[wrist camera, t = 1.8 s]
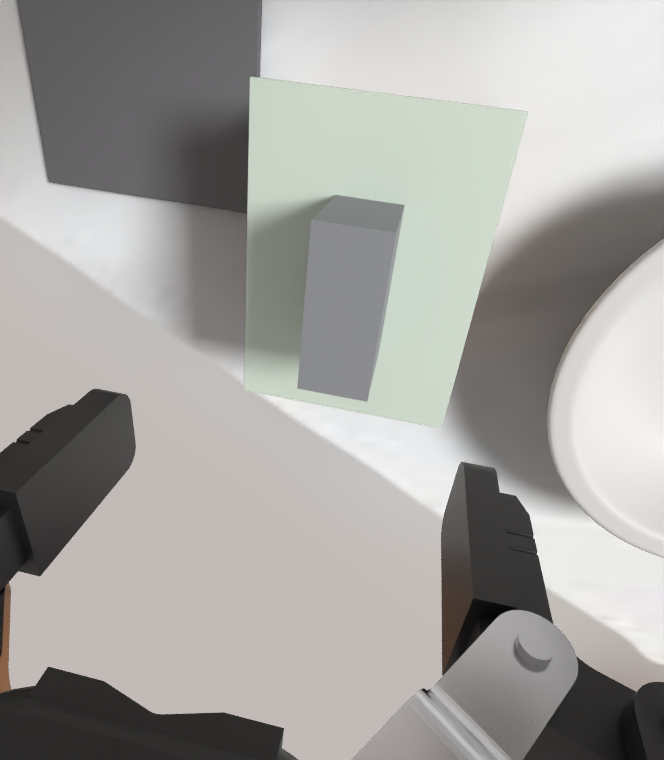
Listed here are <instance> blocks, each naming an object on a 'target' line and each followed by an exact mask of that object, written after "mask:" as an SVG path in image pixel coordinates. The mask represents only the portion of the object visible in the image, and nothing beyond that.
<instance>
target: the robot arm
mask: <svg viewBox="0 0 664 760" xmlns="http://www.w3.org/2000/svg"><path fill="white" fill-rule="evenodd" d="M135 448H136V445H135V435H134V427H133V419H132V411H131V403H130V399H129V397H128V396H127V395H125V394H121V393H116V392H111V391H105V390H101V389H93V390H91V391H90V392H88V393H87V394H86V395H85V396H84V397H82V398H81V399H80V400H79V401H78V402H77V403H75V404H74V405H67V406H65V407H62V408H60V409H58V410H56V411H54V412H51V413H49V414H47V415H46V416H45V417H43V418H42V419H41V420H40V421H39V422H37V423H36V424H35V425H34V426H32V427H31V428H30V431H26V432H25V433H24V434H23V435H21V436H20V437H19V438H18V439H17V442H16V443H14V442H13V443H12V444H10V445H9V446H8V447H7V448H6V449H4V450H3V451H2V452H1V453H0V760H298V759H296V758H295V757H294V756H293V755H291V754H290V753H288V752H286V751H285V750H283V749H282V740H283V731H284V728H281V727H277V726H273V725H269V724H265V723H261V722H258V721H254V720H250V719H246V718H242V717H239V716H235V715H231V714H227V713H197V714H165V715H161V714H155V713H152V712H150V711H148V710H147V709H145V708H144V707H142V706H141V705H139V704H138V703H136V702H135V701H133V700H132V699H130V698H129V697H127V696H126V695H124V694H123V693H121V692H119V691H118V690H116V689H115V688H113V687H112V686H110V685H109V684H107V683H106V682H104V681H101V680H97V679H93V678H89V677H86V676H81V675H78V674H74V673H70V672H66V671H63V670H59V669H55V668H51V667H48V668H47V670H46V671H45V672H44V674H43V675H42V677H41V679H40V680H39V681H38V683H37V684H36V686H31V687H25V688H18V689H13V690H11V686H10V681H9V669H8V662H9V634H10V605H11V604H10V603H11V587H10V585H9V581H10V580H11V579H12V578H13V576H14V575H15V574H16V573H17V572H18V571H20V572H24V573H28V574H33V575H37V576H41V575H42V573H43V572H44V571H45V570H46V568H47V567H48V566H49V565H50V564H51V562H52V561H53V560H54V559H55V558H56V556H57V555H58V554H59V553H60V552H61V550H62V549H63V548H64V546H65V545H66V544H67V543H68V542H69V541H70V539H71V538H72V537H73V536H74V535H75V533H76V532H77V531H78V529H79V528H80V527H81V526H82V525H83V524H84V522H85V521H86V520H87V519H88V518H89V516H90V515H91V514H92V513H93V512H94V510H95V509H96V508H97V507H98V505H99V504H100V503H101V502H102V500H103V499H104V498H105V497H106V496H107V494H108V493H109V492H110V491H111V490H112V488H113V487H114V486H115V485H116V484H117V482H118V481H119V480H120V479H121V477H122V476H123V475H124V474H125V472H126V471H127V470H128V469H129V467H130V465H131V463H132V461H133V458H134V455H135ZM441 562H442V563H441V565H442V567H441V570H442V675H443V676H442V678H441V679H440V680H439V681H438V682H437V683H436V684H435V685H434V686H433V687H432V688H431V689H429V690H427V691H426V690H425V689H421V690H419V691H418V692H416V693H415V694H414V695H413V696H412V697H411V698H410V699H409V700H408V701H407V702H406V703H405V704H404V705H403V706H402V707H401V708H400V709H399V710H398V711H397V712H396V713H395V714H394V715H393V716H392V717H391V718H390V720H389V721H388V722H387V723H386V724H385V725H384V726H383V727H382V728H381V729H380V730H379V731H378V732H377V733H376V734H375V735H374V736H373V737H372V738H371V740H370V741H369V742H368V743H367V744H366V745H365V746H364V747H363V748H362V749H361V750H360V751H359V752H358V753H357V754H356V755H355V756H354V757H353V759H352V760H664V683H663V682H652V683H648V684H645V685H643V686H642V687H641V688H640V689H639V690H638V691H637V692H636V691H634V690H632V689H630V688H628V687H626V686H624V685H622V684H620V683H619V682H617V681H615V680H613V679H611V678H609V677H607V676H605V675H604V674H602V673H600V672H597V671H596V670H594V669H593V668H591V667H589V666H588V665H587V664H585V663H584V662H583V661H581V660H580V659H579V658H578V657H577V656H576V654H575V651H574V649H573V647H572V645H571V643H570V642H569V641H568V639H567V638H566V636H565V635H564V634H563V633H562V632H561V631H560V630H559V629H558V628H557V627H556V626H555V625H554V624H553V621H552V617H551V612H550V608H549V603H548V599H547V595H546V590H545V585H544V580H543V576H542V571H541V567H540V562H539V557H538V555H537V548H536V544H535V539H533V530H532V525H531V521H530V516H529V514H528V513H527V511H526V510H525V508H524V507H523V505H522V504H521V503H520V501H519V500H518V498H517V497H516V496H514V495H509V494H504V493H499V486H498V480H497V474H496V470H495V469H494V468H490V467H485V466H480V465H475V464H470V463H465V462H461V463H460V465H459V467H458V470H457V473H456V477H455V480H454V483H453V486H452V490H451V493H450V496H449V499H448V503H447V506H446V509H445V513H444V518H443V524H442V533H441Z"/></svg>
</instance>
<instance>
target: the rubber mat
mask: <svg viewBox="0 0 664 760" xmlns="http://www.w3.org/2000/svg"><path fill="white" fill-rule="evenodd" d="M17 1H18V6H19V12H20V18H21V24H22V29H23V35H24V41H25V46H26V52H27V58H28V64H29V69H30V75H31V81H32V87H33V92H34V98H35V104H36V110H37V115H38V121H39V127H40V132H41V138H42V144H43V150H44V155H45V161H46V167H47V173H48V178H49V182H53V183H59V184H66V185H72V186H78V187H85V188H91V189H98V190H104V191H110V192H117V193H123V194H130V195H136V196H143V197H149V198H155V199H162V200H168V201H175V202H181V203H187V204H194V205H200V206H207V207H213V208H219V209H226V210H232V211H239V212H245V213H247V206H248V154H249V101H250V77H260V52H261V16H262V0H17Z"/></svg>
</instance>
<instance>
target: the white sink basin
mask: <svg viewBox="0 0 664 760" xmlns="http://www.w3.org/2000/svg"><path fill="white" fill-rule="evenodd" d="M547 432H548V442H549V447H550V451H551V456H552V459H553V462H554V465H555V467H556V470H557V473H558V475H559V477H560V478H561V480H562V482H563V484H564V486H565V488H566V489H567V491H568V492H569V493H570V495H571V496H572V498H573V499H574V500H575V502H576V503H577V504H578V505H579V506H580V507H581V508H582V509H583V510H584V512H585V513H586V514H587V515H588V516H590V517H591V518H592V519H593V520H594V521H595V522H596V523H597V524H599V525H600V526H601V527H603V528H604V529H606V530H607V531H608V532H610V533H611V534H613V535H614V536H616V537H618V538H620V539H621V540H623V541H625V542H626V543H629V544H631V545H633V546H635V547H637V548H639V549H641V550H644V551H646V552H649V553H652V554H654V555H657V556H660V557H663V558H664V238H663V239H662V240H661V241H660V242H658V243H657V244H656V245H654V246H653V247H652V248H650V249H649V250H648V251H647V252H645V253H644V254H643V255H641V256H640V257H639V258H638V259H637V260H636V261H635V262H634V263H632V264H631V265H630V266H629V267H628V268H627V269H626V270H625V271H624V272H622V273H621V274H620V275H619V276H618V277H617V278H616V280H615V281H614V282H613V283H612V284H611V285H610V286H609V287H608V288H607V289H606V290H605V291H604V292H603V293H602V294H601V296H600V297H599V298H598V299H597V301H596V302H595V303H594V304H593V306H592V307H591V308H590V310H589V311H588V312H587V313H586V315H585V316H584V318H583V319H582V321H581V322H580V324H579V325H578V327H577V328H576V330H575V331H574V333H573V335H572V337H571V339H570V341H569V342H568V344H567V346H566V348H565V350H564V352H563V354H562V357H561V359H560V362H559V364H558V367H557V369H556V372H555V376H554V379H553V383H552V386H551V390H550V396H549V403H548V409H547Z"/></svg>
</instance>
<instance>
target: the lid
mask: <svg viewBox="0 0 664 760" xmlns="http://www.w3.org/2000/svg"><path fill="white" fill-rule="evenodd" d="M527 115H528V112H526V111H520V110H512V109H504V108H497V107H489V106H481V105H473V104H465V103H457V102H449V101H441V100H433V99H425V98H418V97H410V96H402V95H394V94H386V93H378V92H370V91H362V90H354V89H346V88H339V87H331V86H323V85H315V84H307V83H299V82H291V81H283V80H275V79H267V78H260V77H250V101H249V154H248V206H247V259H246V311H245V364H244V390H245V391H250V392H255V393H260V394H266V395H271V396H276V397H281V398H286V399H291V400H296V401H302V402H307V403H312V404H317V405H322V406H327V407H333V408H338V409H343V410H348V411H353V412H358V413H363V414H369V415H374V416H379V417H384V418H389V419H394V420H400V421H405V422H410V423H415V424H420V425H425V426H431V427H436V428H441V429H442V426H443V422H444V419H445V415H446V411H447V408H448V404H449V400H450V397H451V393H452V389H453V386H454V382H455V378H456V375H457V371H458V367H459V364H460V360H461V356H462V353H463V349H464V345H465V342H466V338H467V334H468V331H469V327H470V323H471V320H472V316H473V312H474V309H475V305H476V302H477V298H478V294H479V291H480V287H481V283H482V280H483V276H484V272H485V269H486V265H487V261H488V258H489V254H490V250H491V247H492V243H493V239H494V236H495V232H496V228H497V225H498V221H499V217H500V214H501V210H502V206H503V203H504V199H505V195H506V192H507V188H508V184H509V181H510V177H511V174H512V170H513V166H514V163H515V159H516V155H517V152H518V148H519V144H520V141H521V137H522V133H523V130H524V126H525V122H526V119H527Z"/></svg>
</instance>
